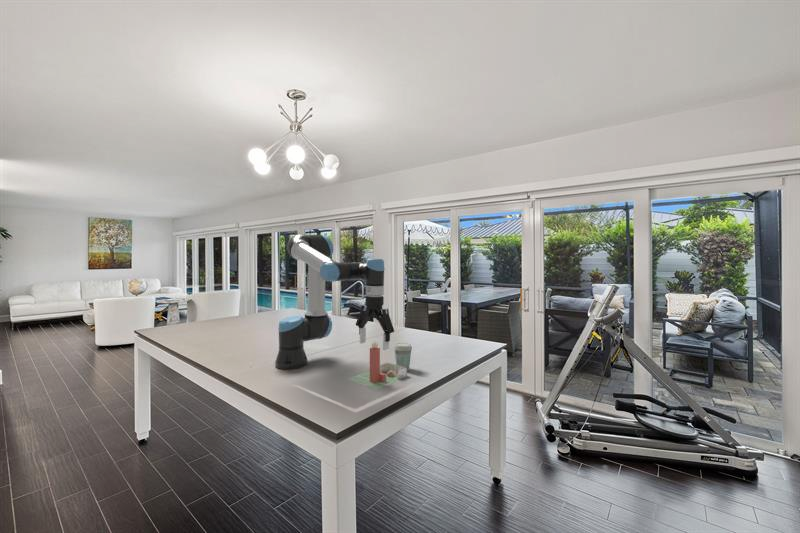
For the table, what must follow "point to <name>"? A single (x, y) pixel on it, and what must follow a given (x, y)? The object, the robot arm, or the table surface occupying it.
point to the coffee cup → (403, 354)
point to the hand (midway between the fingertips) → (373, 346)
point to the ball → (390, 373)
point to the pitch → (365, 380)
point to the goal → (394, 369)
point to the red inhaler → (375, 365)
